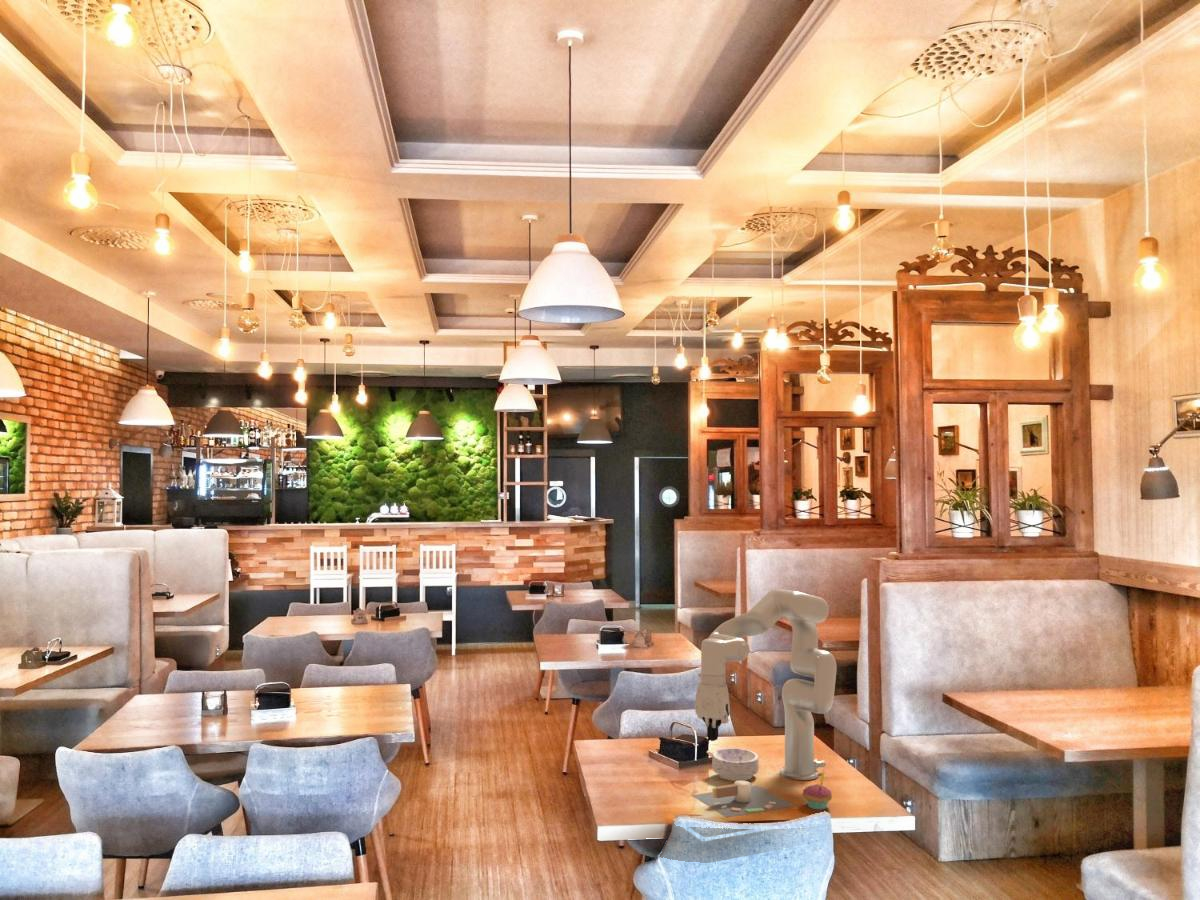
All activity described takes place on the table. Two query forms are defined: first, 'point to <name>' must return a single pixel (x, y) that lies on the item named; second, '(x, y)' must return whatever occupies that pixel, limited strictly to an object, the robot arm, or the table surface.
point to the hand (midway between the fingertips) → (712, 739)
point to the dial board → (758, 803)
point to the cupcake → (817, 795)
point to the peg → (734, 791)
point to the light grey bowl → (735, 764)
